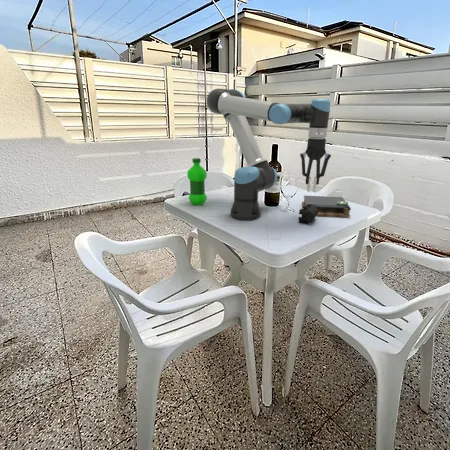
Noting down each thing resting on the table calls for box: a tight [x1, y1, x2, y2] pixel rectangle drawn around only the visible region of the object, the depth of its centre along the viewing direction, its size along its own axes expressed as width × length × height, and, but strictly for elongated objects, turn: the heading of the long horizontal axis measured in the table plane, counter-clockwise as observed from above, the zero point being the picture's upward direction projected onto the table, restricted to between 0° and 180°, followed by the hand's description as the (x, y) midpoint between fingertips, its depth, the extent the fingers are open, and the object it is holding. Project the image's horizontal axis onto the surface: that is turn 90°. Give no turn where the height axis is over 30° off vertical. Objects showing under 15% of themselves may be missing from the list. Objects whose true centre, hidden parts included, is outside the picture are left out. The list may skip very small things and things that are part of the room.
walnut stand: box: [301, 198, 352, 219], centre depth 153 cm, size 21×20×5 cm
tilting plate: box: [303, 195, 350, 208], centre depth 152 cm, size 20×16×3 cm
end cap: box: [298, 205, 318, 225], centre depth 139 cm, size 10×7×7 cm
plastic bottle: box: [186, 157, 208, 206], centre depth 160 cm, size 10×10×25 cm
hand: (311, 191), depth 135 cm, fingers open, 2 cm apart
